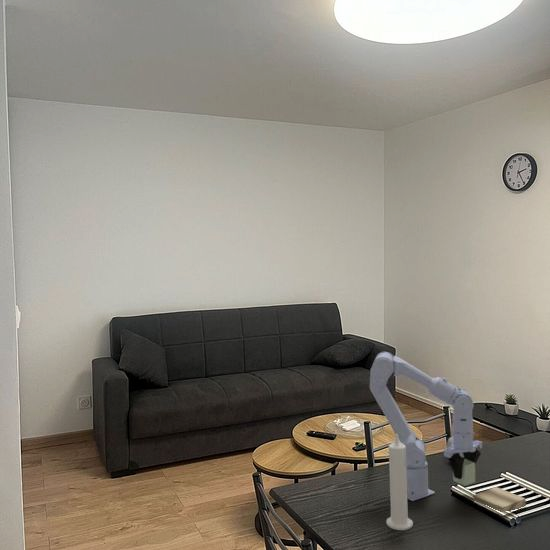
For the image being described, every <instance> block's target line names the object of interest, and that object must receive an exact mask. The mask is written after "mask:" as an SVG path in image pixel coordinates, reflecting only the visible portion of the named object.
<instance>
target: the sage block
mask: <svg viewBox="0 0 550 550" xmlns="http://www.w3.org/2000/svg"><path fill="white" fill-rule="evenodd" d="M452 481H453V482H455V483H457V484H460V485H461V486H465V487H466V486H469V485H472V484H475V483H476V465H475V462H472V461H469V460H467V459H465V460H464V463H463V467H462V478H461V479H458V478H456V477H455V476H454V473H453V472H452Z"/></svg>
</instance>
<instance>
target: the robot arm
mask: <svg viewBox="0 0 550 550" xmlns="http://www.w3.org/2000/svg"><path fill="white" fill-rule="evenodd" d="M393 373H394V374H393ZM392 374H393V377H399V376H405V377H407V378H409V379H411V380H413V381H414V382H417V383H419V384H420V385H422V386H424V387H426V388H427V389H428V393H429V394H430V395H431V396H433V397H435V398H437V399H439V400H440V401H442V402H444V403H445V404H447V405H450V406H451V405H452V408H453V415H452V437H453V445H451V446H450V447H449V448H447V447H446V449H443V457H445V458H447V460H448V462H449V464H450V467H451V469H452V474H453V473H454V476H455V477H456V478H458V479H461V478H462V467H463V463H464V460H465V459H467V460H469V461H472V462H475V466H476V465H477V462H478V460H479V458H480V457H481V453H482V452H481V451H480V450H478V449H483V441H481V440H477V439H476V440H474V417H473V409H474V406H475V405H474V401H473V398H472V395H471V393H469V392H468V391H467V390H466V389H464V388H462V387H460V386H458V387H457V386H455V385H454V384H452V383H451V382H449V381H448V379H447V378H446V377H444V376H443V377H439V376H437V377H431V376H430V375H428V374H427V373H425V372H424V371H422V370H420V369H418V368H417V367H416V366H414V365H412V364H410V363H409V362H407V361H406V360H404V359H402V358H401V357H399V356H396V355H393V354H392V353H391V352H388V351H381V352H378V354H377V355H376V356H375V358H374V360H373V363H372V366H371V367H370V375H369V376H370V377H369V390H370V392H371V393H372V395H373V397H374V399H375V401H376V403H377V405H378V406H379V408H380V410H381V412H383V415H384V416H385V419H386V420H387V422H388V423H389V425H390V427H391V429H392V431H393V433H394V434H395V435H396V434H398V437H399V440H400V442H401V443H402V444H404V445H405V446H406V473H407V500H409V501H412V502H414V501H417V500H420V499H423V498H425V497H429V496H431V495H432V496H433V495H434V494H435V491H434V490H433V489H432V490H431V489H429V469H428V468H429V465H428V462H427V456H426V447H427V446H426V444H425V442H424V441H423V440H421V438H419V437H418V436H417V435H416V433H415V432H414V431H413V430H412V429H411V427H410V425H409V423H408V422H407V420H406V418H405V417H404V414H403V413H402V411H401V410H400V409H401V408H399V406H398V403H397V402H396V401H395V399H394V397H393V396H392V395H393V394H391V392H390V390H389V388H388V386H387V384H388V381H389V379H390V378H391V376H392ZM460 453H463V457H461V455H459V454H460Z"/></svg>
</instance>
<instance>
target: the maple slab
mask: <svg viewBox="0 0 550 550" xmlns="http://www.w3.org/2000/svg"><path fill="white" fill-rule="evenodd" d="M472 497H473V499H472V500H473V501H476V502H479V503H481V504H484V505H487V506H489V507H491V508H493V509H495V510H498V511H500V512H505V511H511V510H515V509H519V508H521V507H524V506H526V505H527V501H526V498H525V497H524V496H523V497H522V496H520V495H518V494H515V493H512V492H510V491H508V490H505V489H502V488H501V487H497V486H495V487H491V488H490V489H487V490H484V491H480V492H477V493H476V494H475V493H474V494H473V495H472ZM526 507H527V506H526Z"/></svg>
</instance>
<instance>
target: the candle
mask: <svg viewBox="0 0 550 550" xmlns="http://www.w3.org/2000/svg"><path fill="white" fill-rule="evenodd" d="M394 437H395V438H394V441H392V442H391V443H389V445H388V461H389V463H388V464H389V466H388V467H389V495H390V498H389V499H390V517H387V518H386V525H387V526H388V528H390V529H393V530H397V531H407V530H411V529H412V528H413V526H414V521H413V520H412V519H411V518H409V512H408V499H407V473H406V446H405V445H404V444H402V443H401V442H400V440H399V437H398V434H395V435H394Z"/></svg>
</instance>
